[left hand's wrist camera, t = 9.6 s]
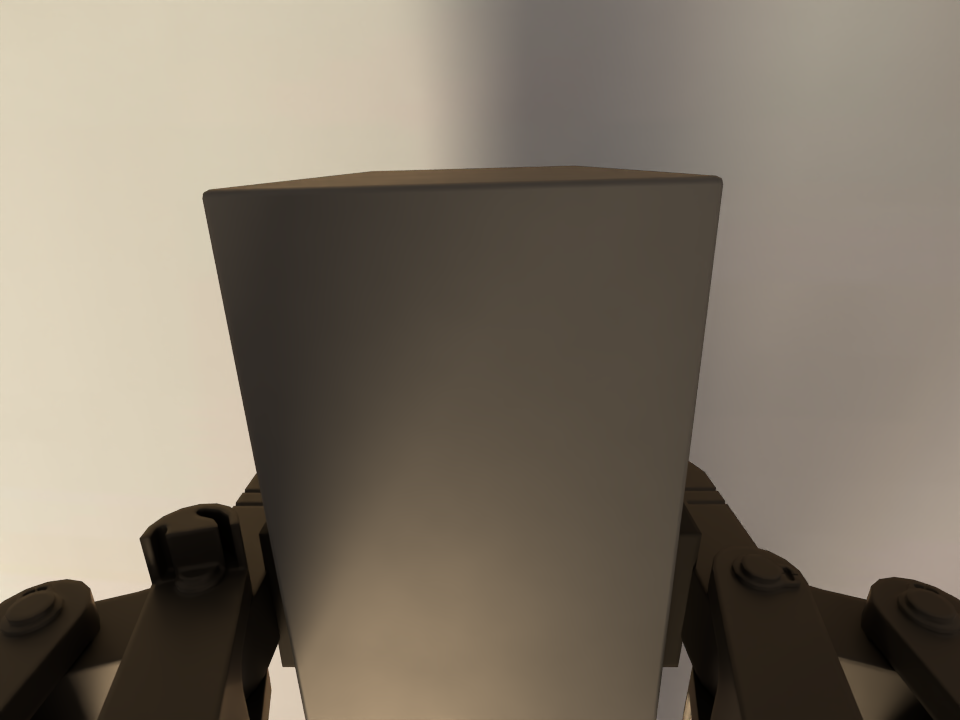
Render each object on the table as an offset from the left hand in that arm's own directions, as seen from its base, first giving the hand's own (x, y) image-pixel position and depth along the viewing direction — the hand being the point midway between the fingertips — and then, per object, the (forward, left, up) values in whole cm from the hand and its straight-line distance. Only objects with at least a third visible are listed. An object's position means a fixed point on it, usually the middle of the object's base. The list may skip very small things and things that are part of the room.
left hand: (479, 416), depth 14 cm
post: (+27, 0, -1) cm, 28 cm away
